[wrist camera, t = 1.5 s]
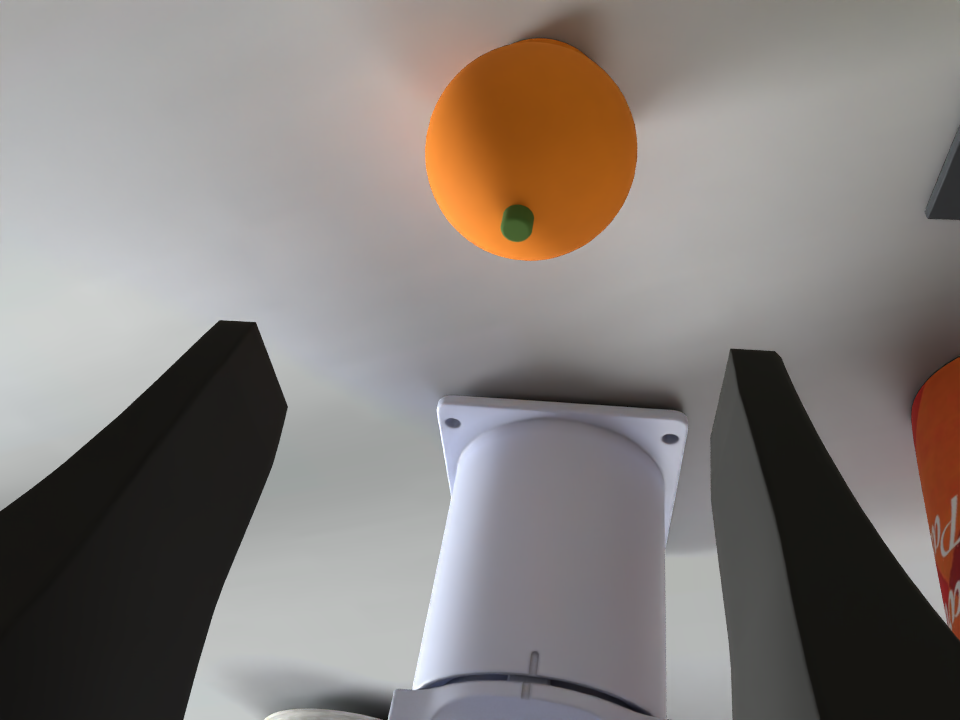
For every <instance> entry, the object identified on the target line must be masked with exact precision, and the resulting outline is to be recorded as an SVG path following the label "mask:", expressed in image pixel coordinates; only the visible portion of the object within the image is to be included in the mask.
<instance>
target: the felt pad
mask: <svg viewBox="0 0 960 720" xmlns="http://www.w3.org/2000/svg"><path fill="white" fill-rule="evenodd" d="M925 213H926V216H927V218H928V219H950V220H960V126H959V128H958V131H957V133H956V136H955V138H954V141H953V143H952V146H951V148H950V151H949V153H948V155H947V158H946V160H945V163H944V165H943V168H942V170H941V173H940V175H939V178H938V180H937V183H936V185H935V188H934V190H933V193H932V195H931V198H930V200H929V203H928V205H927V207H926V210H925Z"/></svg>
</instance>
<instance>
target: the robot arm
mask: <svg viewBox="0 0 960 720" xmlns="http://www.w3.org/2000/svg"><path fill="white" fill-rule="evenodd" d="M287 408H288V406H287V403H286V401H285V398H284V395H283V393H282V390H281V388H280V385H279V382H278V380H277V377H276V374H275V372H274V369H273V366H272V364H271V361H270V358H269V356H268V353H267V350H266V348H265V345H264V343H263V340H262V337H261V335H260V332H259V329H258V327H257V324H256V322H241V321H223V320H220V321H218V322H217V323H216V324H215V325H214V326H213V327H212V328H211V329H210V330H209V331H208V332H206V333H205V334H204V335H203V336H202V337H201V338H200V339H199V340H198V341H197V342H196V343H195V344H194V345H193V346H192V347H191V348H190V349H189V350H188V351H187V352H186V353H185V354H184V355H182V356H181V357H180V358H179V359H178V360H177V361H176V362H175V363H174V364H173V365H172V366H171V367H170V368H169V369H168V370H167V371H166V372H165V373H164V374H163V375H162V376H161V377H160V378H159V379H158V380H157V381H155V382H154V383H153V384H152V385H151V386H150V387H149V388H148V389H147V390H146V391H145V392H144V393H143V394H142V395H141V396H139V397H138V398H137V399H136V400H135V401H134V402H133V403H132V404H131V405H130V406H129V407H128V408H127V409H126V410H124V411H123V412H122V413H121V414H120V415H119V416H118V417H117V418H116V419H115V420H113V421H112V422H111V423H110V424H109V425H108V426H106V427H105V428H104V429H103V430H102V431H101V432H99V433H98V434H97V435H96V436H95V437H94V438H93V439H91V440H90V441H89V442H88V443H87V444H86V445H84V446H83V447H82V448H81V449H80V450H79V451H77V452H76V453H75V454H74V455H73V456H72V457H70V458H69V459H68V460H67V461H66V462H65V463H63V464H62V465H61V466H60V467H58V468H57V469H56V470H55V471H53V472H52V473H51V474H50V475H48V476H47V477H46V478H45V479H43V480H42V481H41V482H39V483H38V484H37V485H35V486H34V487H33V488H32V489H30V490H29V491H27V492H26V493H25V494H23V495H22V496H21V497H19V498H18V499H17V500H15V501H14V502H12V503H11V504H10V505H8V506H7V507H6V508H4V509H3V510H2V511H0V720H183V719H184V715H185V711H186V708H187V704H188V700H189V696H190V693H191V689H192V685H193V681H194V678H195V674H196V670H197V667H198V663H199V660H200V656H201V653H202V650H203V646H204V643H205V640H206V636H207V633H208V629H209V626H210V623H211V619H212V616H213V613H214V610H215V607H216V604H217V601H218V599H219V596H220V593H221V590H222V588H223V585H224V582H225V580H226V578H227V575H228V573H229V570H230V568H231V566H232V563H233V561H234V558H235V556H236V554H237V551H238V549H239V546H240V544H241V541H242V539H243V537H244V534H245V532H246V529H247V527H248V525H249V522H250V520H251V517H252V515H253V513H254V510H255V508H256V505H257V503H258V500H259V498H260V495H261V493H262V490H263V488H264V486H265V483H266V481H267V478H268V476H269V473H270V470H271V468H272V465H273V462H274V459H275V455H276V451H277V448H278V444H279V441H280V437H281V433H282V429H283V425H284V420H285V416H286V412H287ZM437 415H438V421H439V427H440V433H441V439H442V445H443V451H444V457H445V462H446V468H447V474H448V480H449V486H450V492H451V503H450V508H449V512H448V517H447V522H446V527H445V532H444V537H443V542H442V547H441V552H440V556H439V561H438V566H437V571H436V576H435V581H434V586H433V591H432V596H431V600H430V605H429V610H428V615H427V620H426V625H425V630H424V635H423V639H422V644H421V649H420V654H419V659H418V664H417V669H416V674H415V679H414V683H413V688H412V690H407V689H396V690H394V694H393V699H392V703H391V708H390V712H389V716H388V720H671V719H667V709H666V604H665V549H666V544H667V539H668V533H669V528H670V523H671V517H672V512H673V507H674V502H675V496H676V491H677V486H678V480H679V475H680V470H681V465H682V459H683V454H684V449H685V443H686V438H687V433H688V418H687V417H686V415H685V414H683V413H681V412H680V411H675V410H665V409H650V408H636V407H621V406H606V405H591V404H577V403H562V402H547V401H532V400H517V399H503V398H488V397H473V396H458V395H447V396H444V397H442V398H441V399H440V400H439V403H438V407H437ZM454 418H455V419H454ZM711 504H712V512H713V520H714V529H715V537H716V545H717V553H718V561H719V568H720V576H721V584H722V592H723V600H724V608H725V615H726V623H727V631H728V639H729V650H730V662H731V681H732V716H733V720H960V640H959V639H958V638H957V637H956V636H955V634H954V633H953V632H952V631H951V629H950V628H949V627H948V626H947V625H946V623H945V622H944V621H943V620H942V618H941V617H940V616H939V615H938V614H937V612H936V611H935V610H934V609H933V607H932V606H931V605H930V604H929V602H928V601H927V600H926V598H925V597H924V596H923V594H922V593H921V592H920V591H919V589H918V588H917V587H916V585H915V584H914V583H913V581H912V580H911V579H910V578H909V576H908V575H907V573H906V572H905V571H904V569H903V568H902V567H901V565H900V564H899V562H898V561H897V560H896V558H895V557H894V556H893V554H892V553H891V551H890V550H889V548H888V547H887V546H886V544H885V543H884V541H883V540H882V538H881V537H880V535H879V534H878V532H877V531H876V529H875V528H874V526H873V525H872V523H871V522H870V520H869V519H868V517H867V516H866V514H865V513H864V511H863V510H862V508H861V507H860V505H859V503H858V502H857V500H856V499H855V497H854V495H853V494H852V492H851V491H850V489H849V487H848V486H847V484H846V482H845V481H844V479H843V477H842V475H841V474H840V472H839V470H838V469H837V467H836V465H835V464H834V462H833V460H832V458H831V457H830V455H829V453H828V452H827V450H826V448H825V446H824V444H823V443H822V441H821V439H820V437H819V435H818V434H817V432H816V430H815V428H814V426H813V424H812V422H811V420H810V418H809V416H808V414H807V412H806V411H805V409H804V407H803V405H802V402H801V400H800V398H799V396H798V394H797V392H796V390H795V388H794V386H793V384H792V381H791V379H790V377H789V375H788V373H787V370H786V368H785V366H784V363H783V361H782V358H781V357H780V356H779V355H778V354H777V353H776V352H775V351H762V350H744V349H730V353H729V358H728V362H727V366H726V371H725V375H724V380H723V384H722V389H721V393H720V398H719V402H718V406H717V411H716V415H715V420H714V424H713V429H712V433H711Z"/></svg>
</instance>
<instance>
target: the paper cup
mask: <svg viewBox="0 0 960 720" xmlns="http://www.w3.org/2000/svg"><path fill="white" fill-rule="evenodd" d="M911 421H912V430H913V439H914V445H915V451H916V457H917V463H918V469H919V475H920V481H921V486H922V492H923V497H924V503H925V508H926V513H927V519H928V524H929V530H930V535H931V540H932V546H933V551H934V556H935V561H936V567H937V572H938V577H939V582H940V588H941V593H942V598H943V603H944V609H945V614H946V619H947V624H948V627H949V628H950V629H951V631H952V632H953V633H954V634H955V636H956V637H957V638H958V639H959V640H960V357H959V358H957V359H955V360H953V361H952V362H950V363H948V364H947V365H945V366H944V367H942V368H941V369H940V370H938V371H937V372H936V373H935V374H934V375H932V376H931V377H930V378H929V379H928V380H927V381H926V382H925V384H924V385H923V386H922V387H921V389H920V390H919V392H918V393H917V395H916V397H915V399H914V402H913V406H912V413H911Z"/></svg>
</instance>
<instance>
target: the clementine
mask: <svg viewBox="0 0 960 720" xmlns="http://www.w3.org/2000/svg"><path fill="white" fill-rule="evenodd" d="M425 157H426V169H427V174H428V179H429V183H430V187H431V190H432V192H433V195H434V197H435V199H436V201H437V203H438V205H439V207H440V209H441V211H442V212H443V214H444V215H445V217H446V218H447V220H448V221H449V222H450V223H451V224H452V225H453V227H454V228H455V229H456V230H457V231H458V232H459V233H460V234H462V235H463V236H464V237H465V238H466V239H467V240H469V241H470V242H472V243H473V244H474V245H476V246H478V247H480V248H481V249H483V250H485V251H488V252H490V253H492V254H495V255H498V256H501V257H505V258H510V259H515V260H525V261H532V260H545V259H550V258H555V257H558V256H561V255H564V254H567V253H570V252H572V251H574V250H576V249H578V248H580V247H582V246H584V245H585V244H587V243H588V242H590V241H591V240H592V239H594V238H595V237H596V236H597V235H598V234H600V233H601V232H602V231H603V230H604V229H605V228H606V227H607V226H608V225H609V224H610V223H611V222H612V220H613V219H614V217H615V216H616V215H617V213H618V212H619V210H620V209H621V207H622V206H623V204H624V202H625V200H626V198H627V196H628V193H629V191H630V188H631V185H632V182H633V179H634V175H635V168H636V162H637V137H636V130H635V124H634V121H633V117H632V114H631V111H630V109H629V106H628V104H627V102H626V100H625V98H624V96H623V94H622V92H621V91H620V89H619V88H618V86H617V85H616V83H615V82H614V81H613V80H612V79H611V78H610V77H609V75H608V74H607V73H606V72H605V71H604V70H603V69H602V68H601V67H599V66H598V65H597V64H596V63H595V62H593V61H592V60H590V59H589V58H588V57H587V56H586V55H585V54H583V53H582V52H581V51H579V50H578V49H576V48H575V47H573V46H571V45H569V44H567V43H564V42H561V41H558V40H553V39H545V38H534V39H527V40H522V41H519V42H516V43H513V44H511V45H506V46H503V47H500V48H497V49H494V50H492V51H490V52H488V53H486V54H484V55H482V56H480V57H478V58H477V59H475V60H474V61H472V62H471V63H470V64H468V65H467V66H466V67H465V68H464V69H462V70H461V71H460V72H459V73H458V74H457V75H456V76H455V77H454V79H453V80H452V81H451V82H450V83H449V85H448V86H447V87H446V88H445V90H444V92H443V93H442V95H441V97H440V98H439V100H438V102H437V104H436V106H435V109H434V111H433V114H432V116H431V119H430V124H429V128H428V132H427V136H426V147H425Z"/></svg>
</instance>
